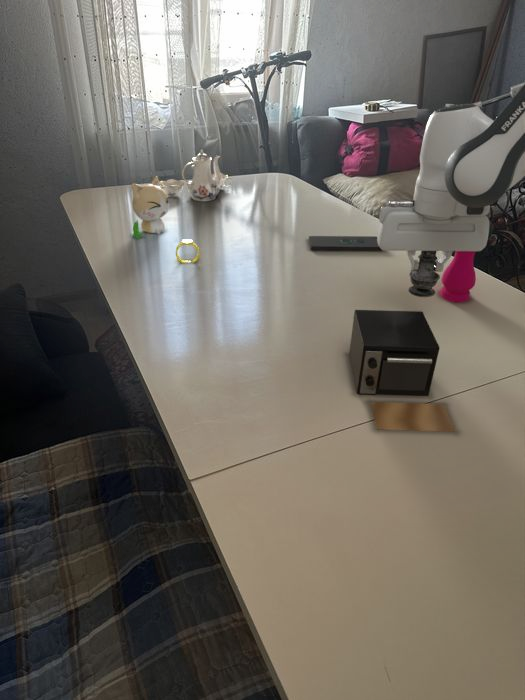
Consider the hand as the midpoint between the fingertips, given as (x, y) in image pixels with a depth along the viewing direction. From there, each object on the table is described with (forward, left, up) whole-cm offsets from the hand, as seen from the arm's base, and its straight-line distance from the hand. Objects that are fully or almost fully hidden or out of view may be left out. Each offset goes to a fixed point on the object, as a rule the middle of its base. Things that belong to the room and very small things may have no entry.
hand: (425, 270), depth 102 cm
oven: (+10, +20, -12) cm, 25 cm away
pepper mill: (-11, -12, -12) cm, 20 cm away
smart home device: (+11, -42, -12) cm, 45 cm away
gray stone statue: (0, 0, -5) cm, 5 cm away
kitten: (+67, -50, -12) cm, 84 cm away
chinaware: (+58, -87, -12) cm, 105 cm away
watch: (+53, -28, -12) cm, 61 cm away
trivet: (+8, +31, -12) cm, 34 cm away
